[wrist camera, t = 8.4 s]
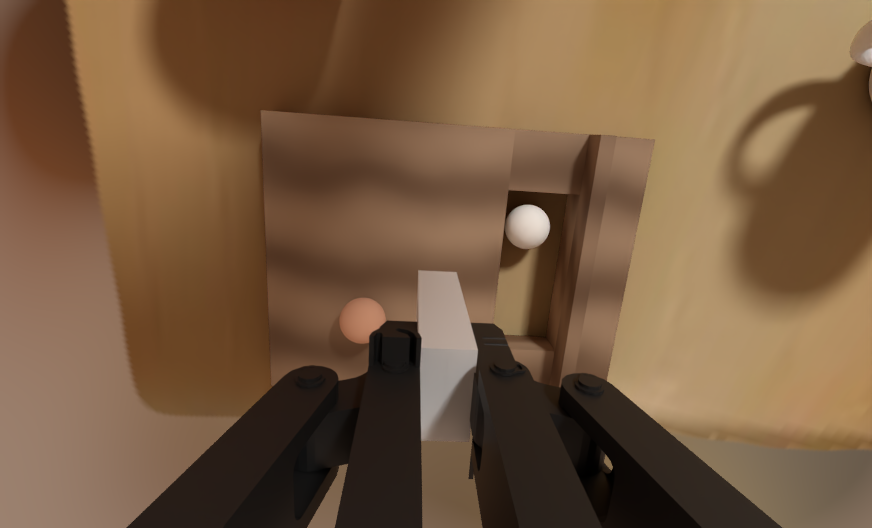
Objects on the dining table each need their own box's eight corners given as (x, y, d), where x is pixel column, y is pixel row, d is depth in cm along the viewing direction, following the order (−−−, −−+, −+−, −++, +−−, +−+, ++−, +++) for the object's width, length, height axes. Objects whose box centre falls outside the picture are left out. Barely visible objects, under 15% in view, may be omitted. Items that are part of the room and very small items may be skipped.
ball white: (498, 201, 32) (524, 209, 30) (534, 200, 34) (562, 208, 31) (494, 244, 33) (519, 255, 31) (529, 241, 35) (556, 252, 32)
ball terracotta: (343, 289, 32) (335, 306, 29) (388, 292, 32) (384, 308, 29) (343, 330, 33) (335, 350, 30) (386, 332, 33) (383, 353, 30)
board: (272, 111, 31) (249, 108, 27) (637, 139, 32) (671, 140, 28) (280, 368, 36) (262, 400, 32) (591, 382, 38) (613, 414, 34)
